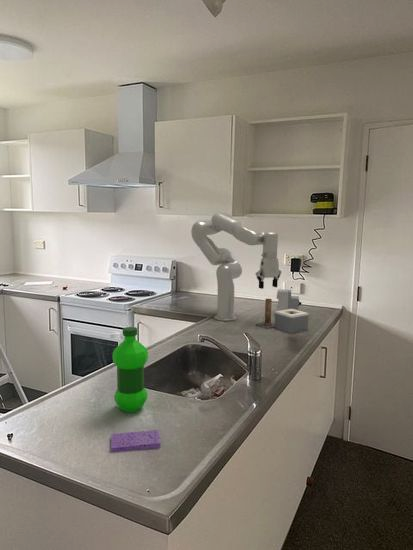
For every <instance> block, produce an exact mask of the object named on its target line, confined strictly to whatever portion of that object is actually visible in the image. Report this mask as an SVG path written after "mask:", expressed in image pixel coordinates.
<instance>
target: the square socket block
mask: <svg viewBox="0 0 413 550" xmlns="http://www.w3.org/2000/svg"><path fill="white" fill-rule="evenodd" d="M274 324H275V327H274V329H277V330H279V331H282V332H285V333H289V334H296V333H299V332H300V333H301V332H305V331H308V330H309V313H308V312H306V311H302V310H299V309H298V310H295V309H287V310H281V311H276V310H275V312H274Z"/></svg>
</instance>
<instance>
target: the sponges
mask: <svg viewBox="0 0 413 550" xmlns="http://www.w3.org/2000/svg"><path fill="white" fill-rule="evenodd" d="M110 435H111V436H110V452H111V453H116V452H117V453H118V452H125V451H126V452H127V451H137V450H140V451H141V450H149V449H159V448H161V438H160V433H159V429H151V430H145V431H144V430H141V431H140V430H139V431H128V432H117V433H115V432H114V433H111V434H110Z"/></svg>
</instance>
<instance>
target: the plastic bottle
mask: <svg viewBox="0 0 413 550" xmlns="http://www.w3.org/2000/svg"><path fill="white" fill-rule="evenodd" d="M137 335H138V328H137V326H136V327H135V326H127V327H123V328H122V336H124V340H123V341H122V342H121V343H119V345H117V346H116V347H115V348H114V349H113V351H112V355H111V356H112V362H113V364H114V365H115V366H116V378H117V381H116V383H117V386H116V388H117V389H116V391H115V393H114V402H115V404H116V405H117V407H118V408H119V409H121V410H122V411H123V412H126V413H134V412H136V411H139V410H140V409H141V408H142V407H144V404H146V401H147V400H148V399H147V398H148V392H147V389H146V388H145V365H146V363H147V362H148V359H149V352H148V349H147V347H145V346H144V345H143V344H142V343H141V342H139V341H138V340H137V339H136V337H137Z"/></svg>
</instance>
